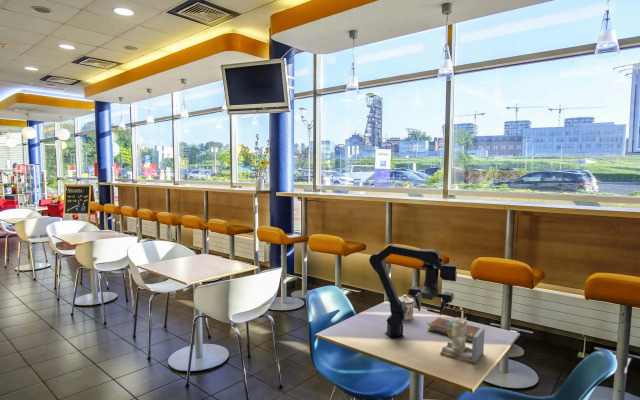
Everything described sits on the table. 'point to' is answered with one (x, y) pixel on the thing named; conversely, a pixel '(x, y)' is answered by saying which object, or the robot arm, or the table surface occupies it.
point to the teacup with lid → (408, 306)
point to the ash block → (459, 334)
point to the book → (451, 328)
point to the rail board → (459, 353)
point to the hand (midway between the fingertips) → (429, 313)
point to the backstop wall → (478, 344)
